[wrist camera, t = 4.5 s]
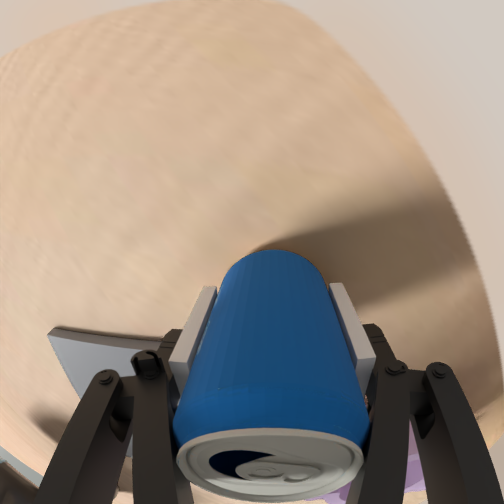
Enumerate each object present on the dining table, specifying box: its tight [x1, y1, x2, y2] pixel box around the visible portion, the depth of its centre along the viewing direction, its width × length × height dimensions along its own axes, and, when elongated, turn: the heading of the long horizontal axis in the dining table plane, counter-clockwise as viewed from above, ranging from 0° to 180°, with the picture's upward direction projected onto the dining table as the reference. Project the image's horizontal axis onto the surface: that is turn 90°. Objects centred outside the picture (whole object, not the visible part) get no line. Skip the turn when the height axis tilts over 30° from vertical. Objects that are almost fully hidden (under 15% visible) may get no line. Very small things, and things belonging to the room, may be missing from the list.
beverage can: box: [172, 250, 370, 503], centre depth 12 cm, size 6×6×12 cm
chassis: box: [47, 328, 181, 458], centre depth 21 cm, size 20×20×4 cm
